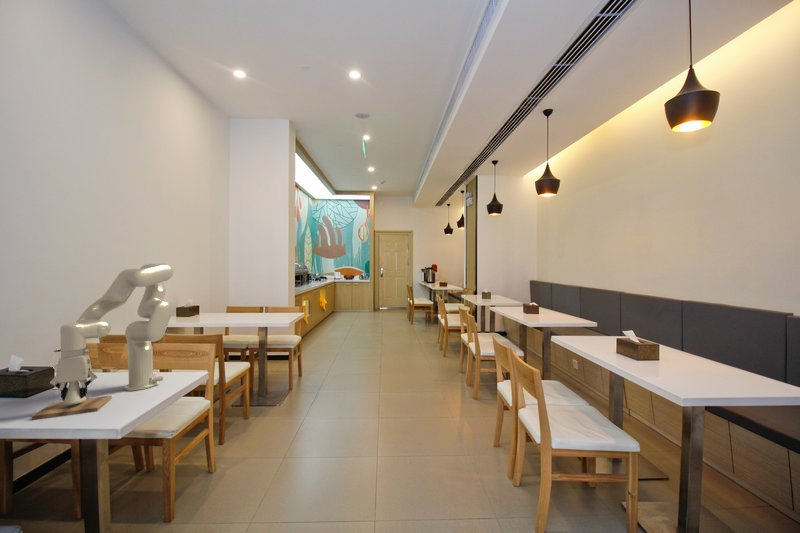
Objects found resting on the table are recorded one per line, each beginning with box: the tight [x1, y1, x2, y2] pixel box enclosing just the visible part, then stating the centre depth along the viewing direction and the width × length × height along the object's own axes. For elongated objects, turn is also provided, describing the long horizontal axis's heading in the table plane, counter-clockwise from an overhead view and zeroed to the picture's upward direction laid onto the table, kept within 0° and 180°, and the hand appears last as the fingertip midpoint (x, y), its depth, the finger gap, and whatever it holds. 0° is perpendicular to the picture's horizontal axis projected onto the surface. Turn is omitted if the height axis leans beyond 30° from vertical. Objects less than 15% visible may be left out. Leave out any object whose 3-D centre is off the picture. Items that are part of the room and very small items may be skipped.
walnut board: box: [31, 395, 113, 421], centre depth 142 cm, size 20×14×2 cm
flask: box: [61, 381, 87, 405], centre depth 142 cm, size 7×7×10 cm
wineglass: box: [49, 348, 69, 390], centre depth 169 cm, size 8×8×18 cm
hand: (74, 397), depth 142 cm, fingers closed on flask, 5 cm apart
